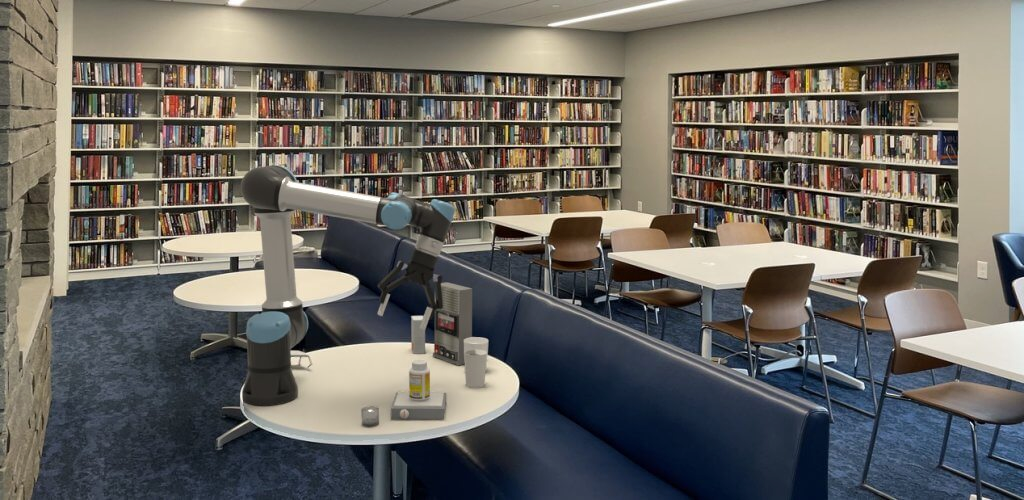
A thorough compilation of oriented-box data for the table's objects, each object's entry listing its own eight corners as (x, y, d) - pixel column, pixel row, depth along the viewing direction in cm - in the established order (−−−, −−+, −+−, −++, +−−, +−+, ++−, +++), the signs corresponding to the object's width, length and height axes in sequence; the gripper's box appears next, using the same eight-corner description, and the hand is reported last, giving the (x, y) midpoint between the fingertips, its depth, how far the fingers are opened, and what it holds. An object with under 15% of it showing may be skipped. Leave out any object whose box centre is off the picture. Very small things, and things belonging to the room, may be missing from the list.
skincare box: (411, 349, 275) (411, 315, 273) (423, 348, 276) (423, 315, 274) (413, 354, 269) (413, 319, 267) (425, 353, 270) (425, 319, 268)
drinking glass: (471, 389, 233) (471, 356, 232) (460, 383, 239) (460, 351, 237) (490, 385, 237) (490, 353, 235) (478, 379, 242) (479, 348, 241)
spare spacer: (360, 426, 202) (360, 412, 202) (363, 420, 207) (363, 406, 206) (377, 427, 203) (377, 412, 202) (380, 420, 207) (379, 406, 206)
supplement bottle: (426, 393, 218) (426, 358, 216) (432, 400, 213) (432, 363, 211) (406, 396, 215) (406, 359, 214) (412, 402, 210) (412, 365, 209)
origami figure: (273, 370, 249) (273, 355, 248) (287, 363, 257) (286, 348, 256) (308, 373, 246) (307, 358, 245) (320, 366, 254) (320, 351, 253)
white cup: (484, 375, 247) (485, 344, 246) (460, 373, 249) (460, 342, 247) (490, 368, 255) (490, 338, 253) (466, 366, 256) (467, 336, 255)
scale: (390, 420, 207) (390, 406, 207) (396, 402, 221) (396, 390, 220) (444, 420, 208) (444, 407, 207) (446, 402, 221) (446, 390, 221)
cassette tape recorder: (432, 356, 266) (432, 284, 263) (446, 353, 270) (447, 282, 267) (457, 366, 256) (458, 290, 252) (472, 362, 260) (472, 288, 256)
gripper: (391, 239, 219) (364, 311, 218) (468, 267, 230) (443, 336, 229) (383, 237, 226) (357, 307, 224) (459, 265, 237) (434, 332, 235)
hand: (401, 322), depth 226 cm, fingers open, 13 cm apart
